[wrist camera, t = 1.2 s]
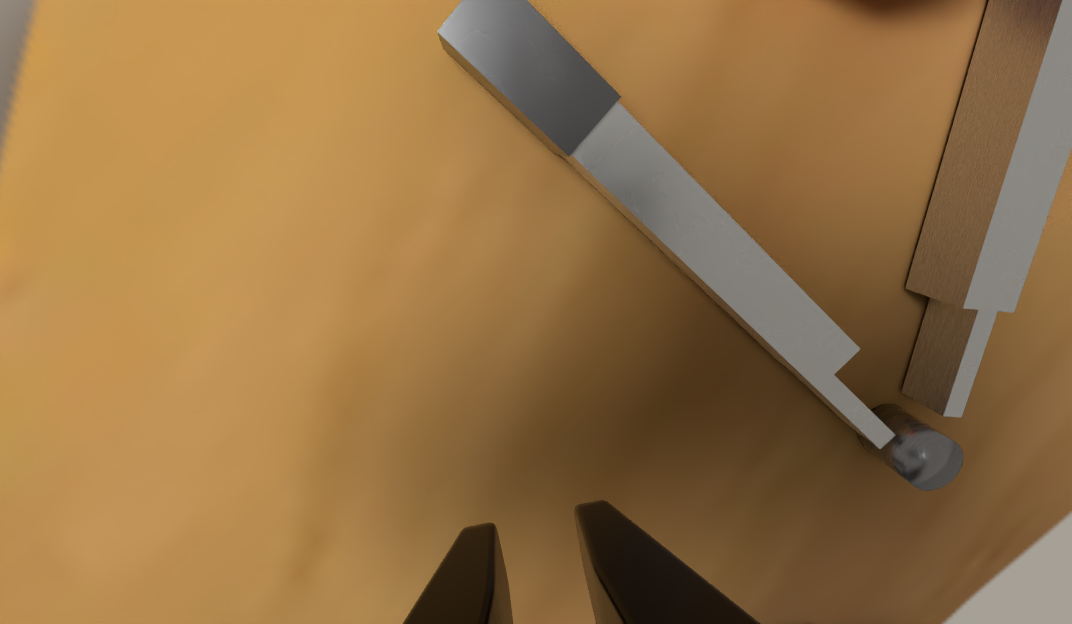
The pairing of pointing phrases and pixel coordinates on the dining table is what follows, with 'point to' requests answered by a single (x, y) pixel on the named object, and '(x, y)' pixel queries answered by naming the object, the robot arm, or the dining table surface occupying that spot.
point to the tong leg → (651, 191)
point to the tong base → (983, 219)
